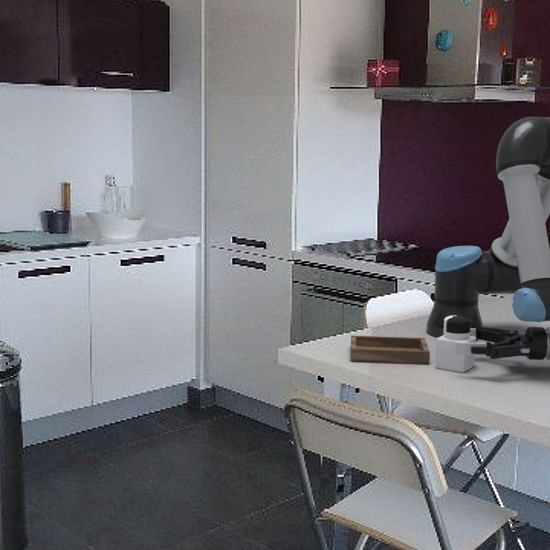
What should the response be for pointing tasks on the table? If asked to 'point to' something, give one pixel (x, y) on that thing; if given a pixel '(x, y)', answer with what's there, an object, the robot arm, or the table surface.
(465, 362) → the medicine bottle
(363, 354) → the walnut tray
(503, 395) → the table surface
